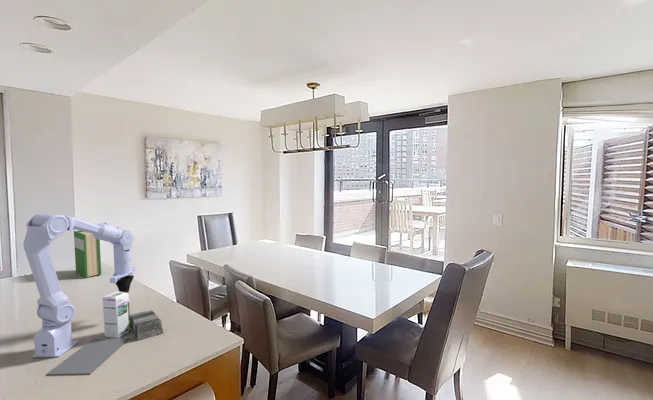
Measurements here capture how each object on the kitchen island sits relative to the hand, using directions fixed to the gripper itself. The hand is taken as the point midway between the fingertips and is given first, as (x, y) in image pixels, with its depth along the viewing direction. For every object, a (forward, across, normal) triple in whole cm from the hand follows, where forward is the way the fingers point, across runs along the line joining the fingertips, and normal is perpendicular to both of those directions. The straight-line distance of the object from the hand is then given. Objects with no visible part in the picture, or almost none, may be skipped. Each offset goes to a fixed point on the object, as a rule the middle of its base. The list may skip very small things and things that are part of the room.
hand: (124, 295), depth 130 cm
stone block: (+10, -8, -12) cm, 18 cm away
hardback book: (+10, +63, +54) cm, 84 cm away
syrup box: (+10, -12, -3) cm, 16 cm away
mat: (+10, -26, -3) cm, 28 cm away
